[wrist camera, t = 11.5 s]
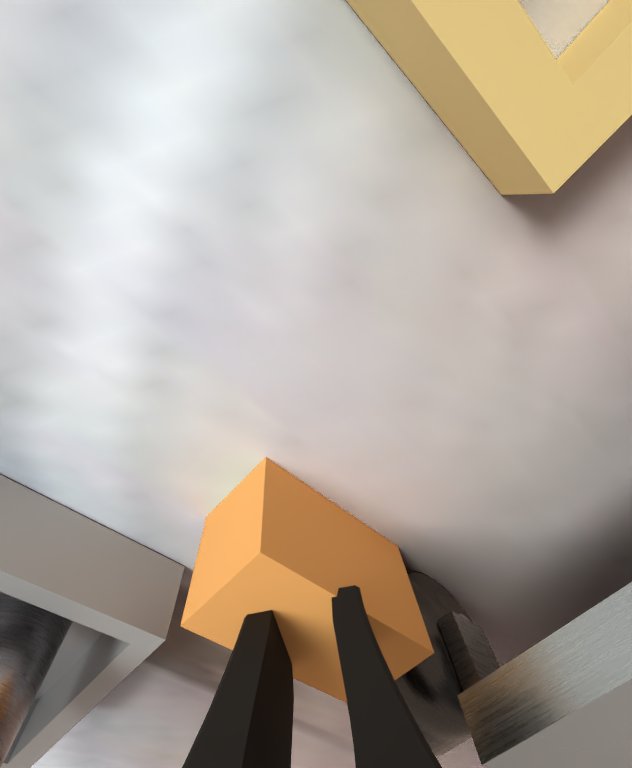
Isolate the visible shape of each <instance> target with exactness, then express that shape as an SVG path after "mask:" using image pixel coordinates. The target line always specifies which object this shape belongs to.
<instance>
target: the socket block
mask: <svg viewBox="0 0 632 768" xmlns="http://www.w3.org/2000/svg"><path fill="white" fill-rule="evenodd" d="M346 1H347V2H348V4H349V5H350V6H351V7H352V9H353V10H354V11H355V12H356V14H357V15H358V16H359V17H360V19H361V20H362V21H363V22H364V24H365V25H366V26H367V27H368V29H369V30H370V31H371V32H372V34H373V35H374V36H375V37H376V39H377V40H378V41H379V42H380V44H381V45H382V46H383V47H384V49H385V50H386V51H387V52H388V54H389V55H390V56H391V57H392V59H393V60H394V61H395V62H396V64H397V65H398V66H399V67H400V69H401V70H402V71H403V72H404V74H405V75H406V76H407V77H408V79H409V80H410V81H411V82H412V84H413V85H414V86H415V87H416V89H417V90H418V91H419V92H420V94H421V95H422V96H423V97H424V99H425V100H426V101H427V102H428V104H429V105H430V106H431V107H432V109H433V110H434V111H435V112H436V114H437V115H438V116H439V117H440V119H441V120H442V121H443V122H444V124H445V125H446V126H447V127H448V129H449V130H450V131H451V132H452V134H453V135H454V136H455V137H456V139H457V140H458V141H459V142H460V144H461V145H462V146H463V147H464V149H465V150H466V151H467V152H468V154H469V155H470V156H471V157H472V159H473V160H474V161H475V163H476V164H477V165H478V166H479V168H480V169H481V170H482V171H483V173H484V174H485V175H486V176H487V178H488V179H489V180H490V181H491V183H492V184H493V185H494V186H495V188H496V189H497V190H498V191H499V193H500V194H501V195H513V194H552V193H555V192H556V191H557V190H558V189H559V188H560V187H561V186H562V185H563V184H564V183H565V181H566V180H567V179H568V178H569V177H570V176H571V175H572V174H573V173H574V172H575V171H576V170H577V169H578V168H579V167H580V166H581V165H582V164H583V163H584V162H585V161H586V160H587V159H588V158H589V157H590V156H591V155H592V154H593V153H594V152H595V151H596V150H597V149H598V148H599V147H600V146H601V145H602V144H603V143H604V142H605V141H606V140H607V139H608V138H609V137H610V136H611V135H612V134H613V133H614V132H615V131H616V130H617V129H618V128H619V127H620V126H621V125H622V124H623V123H624V122H625V121H626V120H627V119H628V118H629V117H630V116H631V115H632V0H610V1H609V2H608V3H607V4H606V5H605V6H604V8H603V9H602V10H601V11H600V12H599V13H598V14H597V15H596V16H595V18H594V19H593V20H592V21H591V22H590V23H589V24H588V25H587V26H586V28H585V29H584V30H583V31H582V32H581V33H580V34H579V35H578V36H577V38H576V39H575V40H574V41H573V42H572V43H571V44H570V45H569V46H568V48H567V49H566V50H565V51H564V52H563V53H562V54H561V55H560V56H559V58H558V59H557V60H556V58H555V57H554V55H553V54H552V52H551V51H550V49H549V47H548V46H547V44H546V43H545V41H544V40H543V38H542V37H541V35H540V33H539V32H538V30H537V29H536V27H535V26H534V24H533V22H532V21H531V19H530V18H529V16H528V15H527V13H526V11H525V10H524V8H523V7H522V5H521V4H520V2H519V1H518V0H346Z"/></svg>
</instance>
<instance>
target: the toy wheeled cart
mask: <svg viewBox="0 0 632 768" xmlns="http://www.w3.org/2000/svg"><path fill="white" fill-rule="evenodd" d="M408 577H409V580H410V583H411V586H412V589H413V592H414V595H415V598H416V601H417V604H418V606H419V609H420V612H421V615H422V618H423V621H424V624H425V627H426V630H427V633H428V636H429V639H430V641H431V644H432V647H433V650H434V653H433V654H432V655H430V656H429V657H428V658H426V659H425V660H423V661H422V662H420V663H419V664H418V665H416V666H415V667H413V668H412V669H410V670H409V671H408V672H406V673H405V674H403V675H402V676H401V677H399V678H398V679H396V680H395V682H396V684H397V686H398V688H399V690H400V692H401V694H402V696H403V698H404V700H405V702H406V704H407V706H408V708H409V710H410V711H411V713H412V715H413V717H414V719H415V721H416V723H417V725H418V726H419V728H420V730H421V732H422V734H423V736H424V737H425V739H426V741H427V743H428V745H429V746H430V748H431V750H432V752H433V753H434V755H442V754H444V753H446V752H447V751H449V750H451V749H452V748H454V747H456V746H457V745H459V744H461V743H462V742H464V741H465V740H467V739H469V738H470V737H472V738H473V741H474V744H475V747H476V750H477V752H478V755H479V758H480V761H481V764H482V765H483V766H485V767H488V768H632V582H631V583H629V584H628V585H626V586H625V587H623V588H621V589H620V590H618V591H617V592H615V593H614V594H612V595H611V596H609V597H608V598H606V599H605V600H603V601H602V602H600V603H598V604H597V605H595V606H594V607H592V608H591V609H589V610H588V611H586V612H585V613H583V614H582V615H580V616H579V617H577V618H575V619H574V620H572V621H571V622H569V623H568V624H566V625H565V626H563V627H562V628H560V629H559V630H557V631H555V632H554V633H552V634H551V635H549V636H548V637H546V638H545V639H543V640H542V641H540V642H539V643H537V644H536V645H534V646H532V647H531V648H529V649H528V650H526V651H525V652H523V653H522V654H520V655H519V656H517V657H516V658H514V659H513V660H511V661H509V662H508V663H506V664H505V665H503V666H502V667H500V666H499V664H498V662H497V660H496V658H495V656H494V653H493V651H492V649H491V647H490V645H489V643H488V641H487V638H486V636H485V634H484V632H483V630H482V629H481V628H480V627H478V626H476V625H475V624H474V623H473V622H472V620H471V619H470V618H469V616H468V615H467V614H466V612H465V611H464V610H463V609H462V607H461V606H460V605H459V604H458V602H457V601H456V600H455V599H454V598H453V597H452V596H451V595H450V594H449V593H448V592H447V591H446V590H445V589H444V588H443V587H442V586H441V585H440V584H438V583H437V582H436V581H434V580H433V579H432V578H430V577H428V576H427V575H424V574H422V573H418V572H413V573H410V574H409V575H408Z"/></svg>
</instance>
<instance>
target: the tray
mask: <svg viewBox="0 0 632 768" xmlns="http://www.w3.org/2000/svg"><path fill="white" fill-rule="evenodd" d="M184 568H185V567H184V566H182V565H180V564H178V563H176V562H174V561H172V560H170V559H168V558H166V557H164V556H162V555H160V554H158V553H156V552H154V551H152V550H150V549H148V548H146V547H144V546H142V545H140V544H138V543H136V542H134V541H132V540H130V539H128V538H126V537H124V536H122V535H120V534H118V533H116V532H114V531H112V530H110V529H108V528H106V527H104V526H102V525H100V524H98V523H96V522H94V521H92V520H90V519H88V518H86V517H84V516H82V515H80V514H78V513H76V512H74V511H72V510H70V509H68V508H66V507H64V506H62V505H60V504H58V503H56V502H54V501H52V500H50V499H48V498H46V497H44V496H42V495H40V494H38V493H36V492H34V491H32V490H30V489H28V488H26V487H24V486H22V485H20V484H18V483H16V482H14V481H12V480H10V479H8V478H6V477H4V476H2V475H0V592H3V593H5V594H8V595H10V596H13V597H15V598H17V599H20V600H22V601H25V602H27V603H30V604H32V605H35V606H37V607H40V608H42V609H45V610H47V611H50V612H52V613H55V614H57V615H60V616H62V617H65V618H67V619H70V620H72V621H73V622H72V624H71V626H70V628H69V630H68V632H67V634H66V636H65V638H64V640H63V642H62V644H61V646H60V648H59V650H58V653H57V655H56V657H55V659H54V661H53V663H52V665H51V667H50V669H49V671H48V673H47V675H46V677H45V679H44V681H43V683H42V685H41V687H40V689H39V691H38V693H37V695H36V697H35V699H34V701H33V703H32V705H31V707H30V709H29V711H28V713H27V715H26V717H25V719H24V721H23V723H22V725H21V727H20V729H19V731H18V733H17V735H16V737H15V739H14V741H13V744H12V746H11V748H10V750H9V752H8V754H7V756H6V758H5V760H4V762H3V764H2V766H1V768H30V767H31V766H32V765H33V764H34V763H35V762H37V761H38V760H39V759H40V758H41V757H42V756H43V755H44V754H45V753H46V752H47V751H48V750H49V749H50V748H51V747H52V746H54V745H55V744H56V743H57V742H58V741H59V740H60V739H61V738H62V737H63V736H64V735H65V734H66V733H67V732H68V731H69V730H71V729H72V728H73V727H74V726H75V725H76V724H77V723H78V722H79V721H80V720H81V719H82V718H83V717H84V716H85V715H86V714H88V713H89V712H90V711H91V710H92V709H93V708H94V707H95V706H96V705H97V704H98V703H99V702H100V701H101V700H102V699H103V698H105V697H106V696H107V695H108V694H109V693H110V692H111V691H112V690H113V689H114V688H115V687H116V686H117V685H118V684H119V683H120V682H122V681H123V680H124V679H125V678H126V677H127V676H128V675H129V674H130V673H131V672H132V671H133V670H134V669H135V668H136V667H137V666H139V665H140V664H141V663H142V662H143V661H144V660H145V659H146V658H147V657H148V656H149V655H150V654H151V653H152V652H153V651H154V650H156V649H157V648H158V647H159V646H160V645H161V644H162V643H163V642H164V641H165V640H166V637H167V633H168V629H169V626H170V622H171V618H172V614H173V610H174V606H175V603H176V599H177V595H178V591H179V587H180V584H181V580H182V576H183V572H184Z"/></svg>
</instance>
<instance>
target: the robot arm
mask: <svg viewBox="0 0 632 768" xmlns="http://www.w3.org/2000/svg"><path fill="white" fill-rule="evenodd" d="M332 616H333V625H334V631H335V637H336V642H337V648H338V654H339V659H340V665H341V670H342V676H343V682H344V687H345V693H346V699H347V704H348V710H349V716H350V722H351V729H352V736H353V743H354V752H355V763H356V768H442V767H441V765H440V764H439V762H438V760H437V758H436V757H435V755H434V753H433V752H432V750H431V748H430V746H429V745H428V743H427V741H426V739H425V737H424V736H423V734H422V732H421V730H420V728H419V726H418V725H417V723H416V721H415V719H414V717H413V715H412V713H411V711H410V710H409V708H408V706H407V704H406V702H405V700H404V698H403V696H402V694H401V692H400V690H399V688H398V686H397V684H396V682H395V680H394V678H393V676H392V674H391V671H390V669H389V667H388V665H387V663H386V661H385V659H384V656H383V654H382V652H381V650H380V647H379V645H378V643H377V640H376V638H375V635H374V633H373V630H372V628H371V625H370V622H369V619H368V617H367V614H366V610H365V607H364V604H363V600H362V595H361V591H360V588H359V587H357V586H356V585H353V586H348V587H342V588H338V593H337V596H336V597H332ZM293 702H294V693H293V669H292V662H291V659H290V657H289V654H288V651H287V649H286V646H285V643H284V641H283V638H282V635H281V632H280V630H279V627H278V624H277V622H276V619H275V616H274V614H273V611H272V610H268V611H263V612H258V613H253V614H247V616H246V617H245V618H244V620H243V623H242V626H241V629H240V632H239V635H238V638H237V640H236V643H235V646H234V649H233V651H232V654H231V657H230V659H229V662H228V664H227V667H226V670H225V672H224V674H223V677H222V679H221V682H220V684H219V687H218V689H217V692H216V694H215V696H214V699H213V701H212V704H211V706H210V708H209V711H208V713H207V715H206V717H205V720H204V722H203V724H202V726H201V728H200V731H199V733H198V735H197V737H196V739H195V741H194V744H193V746H192V748H191V750H190V752H189V755H188V757H187V759H186V761H185V763H184V765H183V767H182V768H291V749H292V726H293Z"/></svg>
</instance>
